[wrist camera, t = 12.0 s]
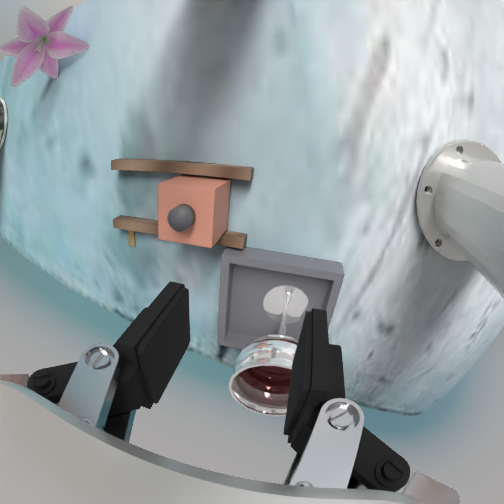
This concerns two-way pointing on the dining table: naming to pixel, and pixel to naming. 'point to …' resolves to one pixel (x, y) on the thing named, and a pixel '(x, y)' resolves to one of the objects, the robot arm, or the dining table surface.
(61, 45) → the lily
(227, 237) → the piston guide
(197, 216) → the piston block
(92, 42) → the dining table surface
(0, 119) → the coffee can
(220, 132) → the dining table surface
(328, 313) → the tray
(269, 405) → the wineglass
